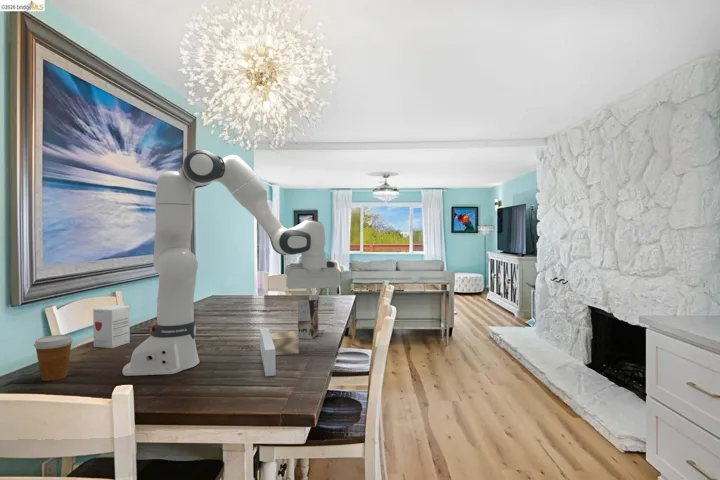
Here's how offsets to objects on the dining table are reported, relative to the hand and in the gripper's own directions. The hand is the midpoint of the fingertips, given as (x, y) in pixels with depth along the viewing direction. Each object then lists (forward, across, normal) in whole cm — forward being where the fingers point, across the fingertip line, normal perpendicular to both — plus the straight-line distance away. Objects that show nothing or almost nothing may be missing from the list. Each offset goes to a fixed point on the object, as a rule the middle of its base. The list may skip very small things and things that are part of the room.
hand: (313, 299), depth 153 cm
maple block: (+19, -11, 0) cm, 22 cm away
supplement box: (+19, -75, +30) cm, 83 cm away
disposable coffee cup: (+19, -81, -6) cm, 83 cm away
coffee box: (+18, +1, +19) cm, 26 cm away
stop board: (+18, -18, -10) cm, 28 cm away
